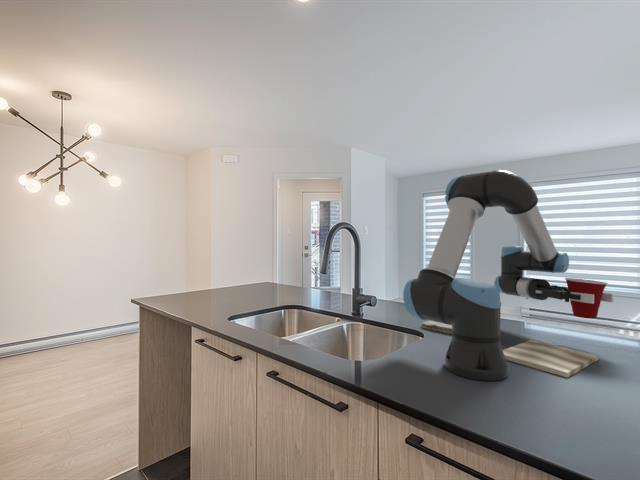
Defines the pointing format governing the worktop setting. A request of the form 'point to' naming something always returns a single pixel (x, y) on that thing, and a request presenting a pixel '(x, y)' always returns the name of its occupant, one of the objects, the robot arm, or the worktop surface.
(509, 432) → the worktop surface
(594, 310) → the plastic cup
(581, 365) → the cutting board
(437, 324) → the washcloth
